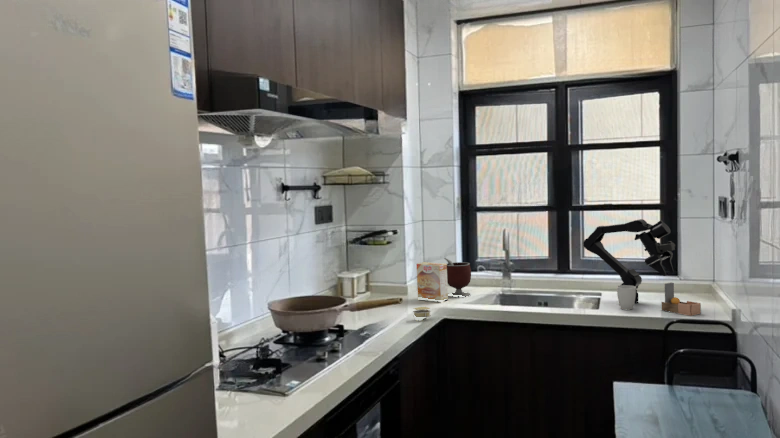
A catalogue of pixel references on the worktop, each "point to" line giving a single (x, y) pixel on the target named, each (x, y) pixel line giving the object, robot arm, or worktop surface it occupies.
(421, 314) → the stacked layers on plate
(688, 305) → the cup
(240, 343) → the worktop surface
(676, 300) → the ball
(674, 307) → the tray
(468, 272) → the mate gourd
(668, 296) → the plunger
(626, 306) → the cup
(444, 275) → the coffeecake box
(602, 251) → the robot arm
